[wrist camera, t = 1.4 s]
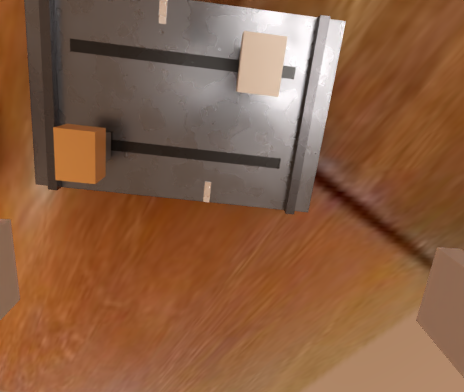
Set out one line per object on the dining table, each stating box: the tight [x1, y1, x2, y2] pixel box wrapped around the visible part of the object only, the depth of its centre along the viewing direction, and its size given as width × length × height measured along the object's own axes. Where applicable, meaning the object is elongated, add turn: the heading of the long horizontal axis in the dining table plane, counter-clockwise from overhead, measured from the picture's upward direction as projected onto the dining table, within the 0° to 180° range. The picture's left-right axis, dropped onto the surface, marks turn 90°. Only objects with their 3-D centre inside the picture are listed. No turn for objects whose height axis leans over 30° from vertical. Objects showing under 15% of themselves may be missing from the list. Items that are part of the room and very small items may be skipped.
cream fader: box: [236, 31, 287, 97], centre depth 27 cm, size 4×3×5 cm
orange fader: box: [53, 124, 111, 184], centre depth 28 cm, size 4×3×5 cm
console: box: [24, 0, 346, 214], centre depth 31 cm, size 17×26×3 cm, turn 83°
